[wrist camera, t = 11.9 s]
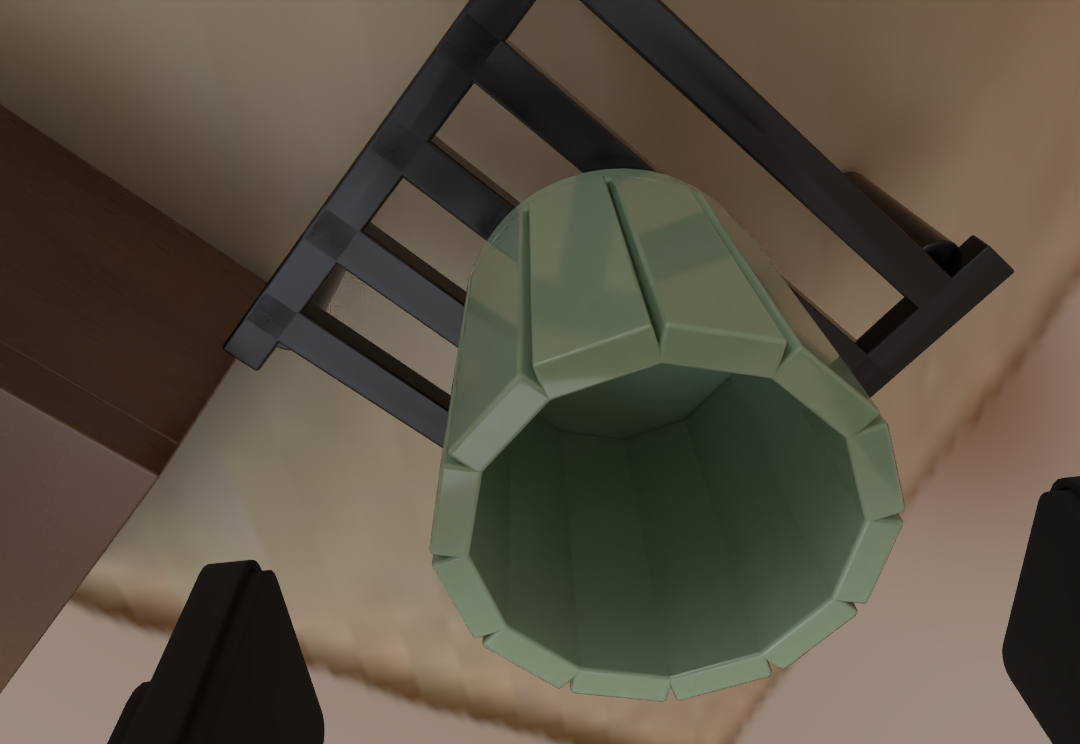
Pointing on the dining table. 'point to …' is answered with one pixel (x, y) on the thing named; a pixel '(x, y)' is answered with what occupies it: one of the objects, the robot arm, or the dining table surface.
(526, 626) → the cup
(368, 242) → the rack
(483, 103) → the dining table surface
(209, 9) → the dining table surface
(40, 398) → the shelf
